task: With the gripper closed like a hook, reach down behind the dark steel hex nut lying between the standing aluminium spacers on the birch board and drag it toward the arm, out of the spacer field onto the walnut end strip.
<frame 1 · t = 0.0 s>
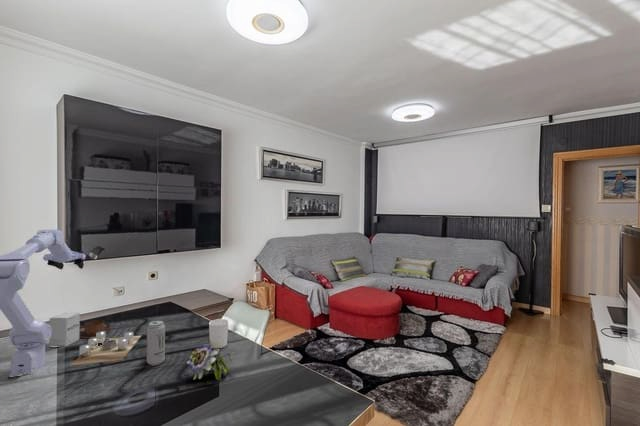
hand: (72, 267, 137), 32 cm above the table, tool tilted 50°, fingers open, 7 cm apart
spacers: (110, 342, 127), on the board, point 3 cm above the table
board: (109, 350, 125), on the table
cup and saucer: (94, 336, 141), on the table
passion flower: (208, 375, 107), on the table
white cup: (218, 345, 130), on the table
nut: (109, 347, 126), point 1 cm above the table, touching board
energy drink can: (155, 363, 115), on the table
supplement box: (64, 344, 131), on the table
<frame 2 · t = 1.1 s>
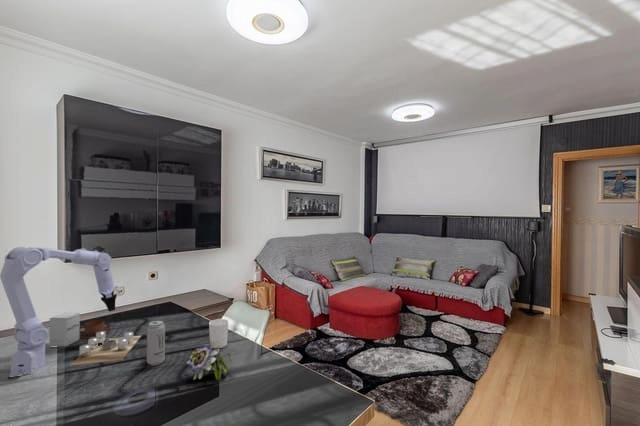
hand: (111, 307, 135), 15 cm above the table, tool pointing down, fingers open, 7 cm apart
nothing on the table moved.
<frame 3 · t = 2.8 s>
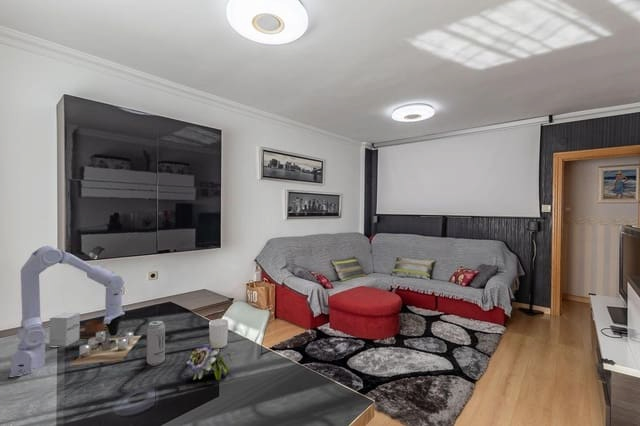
hand: (113, 335, 130), 4 cm above the table, tool pointing down, fingers closed
nothing on the table moved.
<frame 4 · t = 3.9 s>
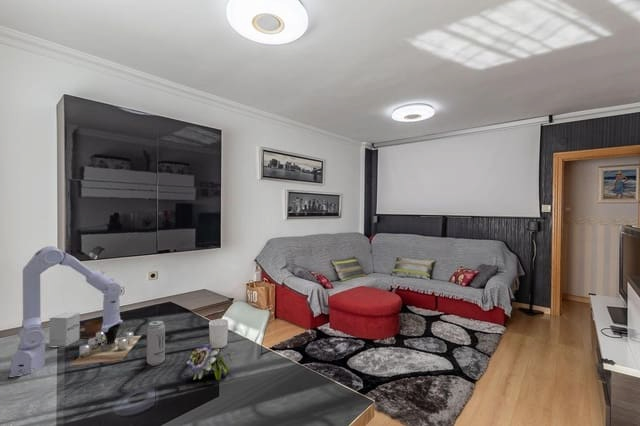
hand: (111, 343, 128), 2 cm above the table, tool pointing down, fingers closed
nut: (108, 348, 125), point 1 cm above the table, touching board, gripper
everything else where it was.
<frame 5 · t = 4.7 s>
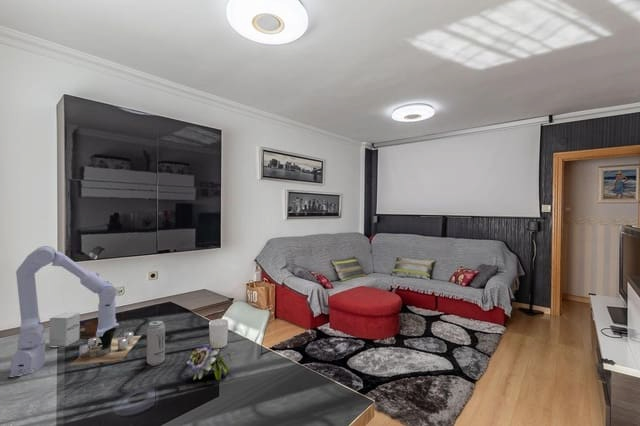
hand: (106, 347, 124), 2 cm above the table, tool pointing down, fingers closed
nut: (103, 353, 120), point 1 cm above the table, touching gripper
everything else where it was.
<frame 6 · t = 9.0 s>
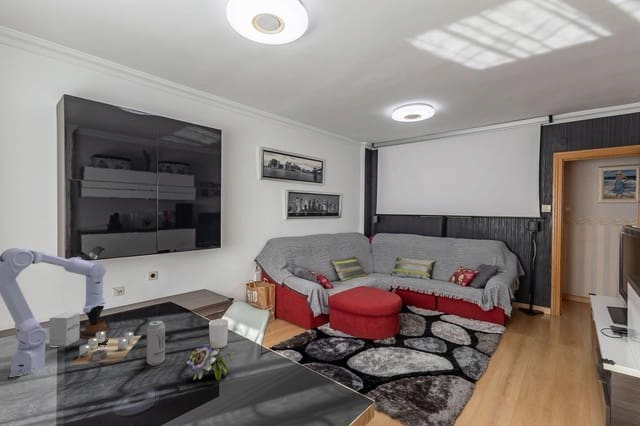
hand: (94, 324, 127), 10 cm above the table, tool pointing down, fingers closed
nut: (98, 358, 116), point 1 cm above the table, touching board
everything else where it was.
at the end: nut inside the target area (0.3 cm from its centre), point 0.8 cm above the table; nut moved 9.7 cm from its start; nut touching board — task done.
